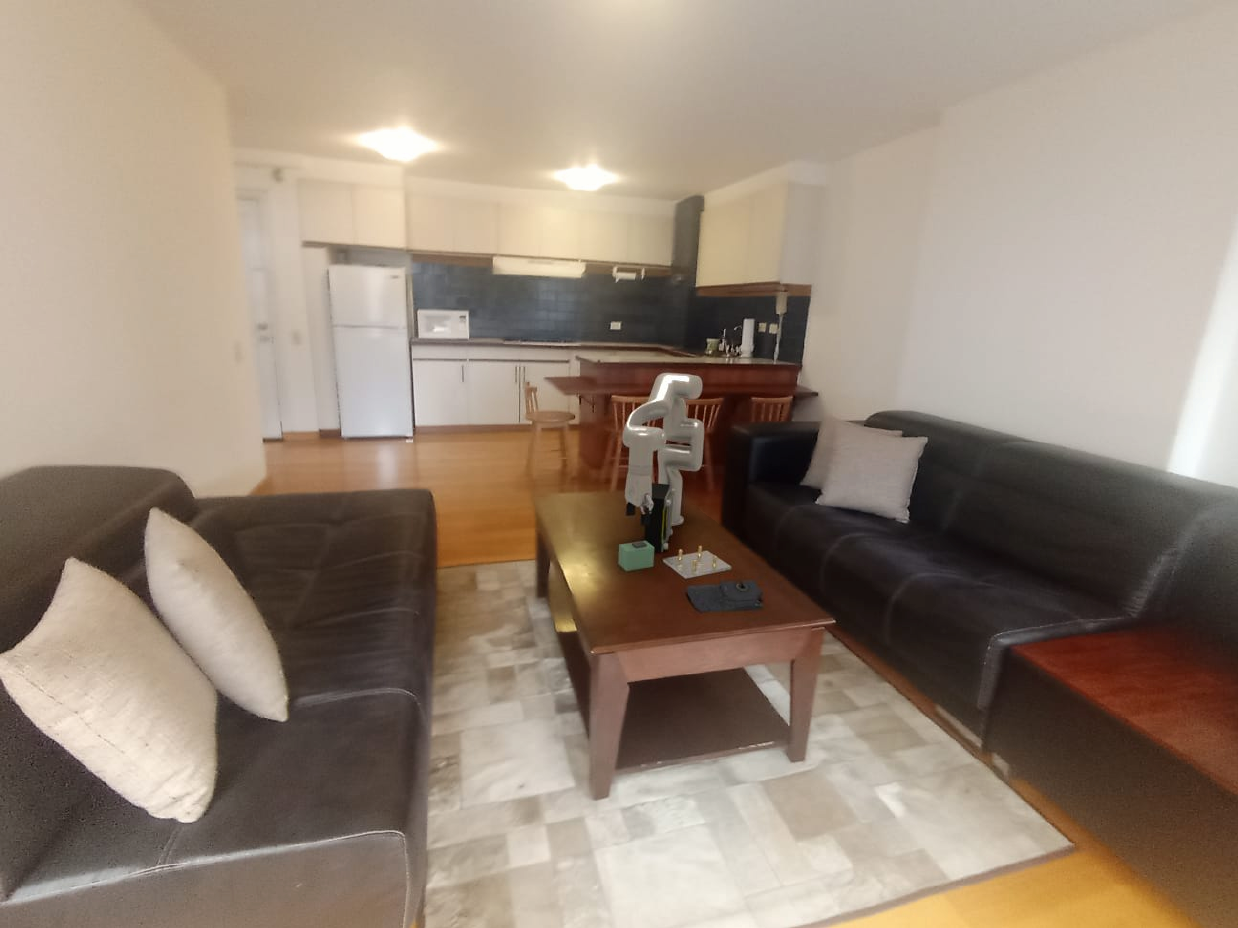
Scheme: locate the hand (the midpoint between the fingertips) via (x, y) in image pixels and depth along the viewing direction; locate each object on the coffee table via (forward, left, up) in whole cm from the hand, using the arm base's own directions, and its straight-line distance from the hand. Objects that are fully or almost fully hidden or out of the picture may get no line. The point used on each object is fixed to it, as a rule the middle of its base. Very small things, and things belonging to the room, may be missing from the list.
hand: (637, 520), depth 188 cm
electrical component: (-14, +16, -16) cm, 27 cm away
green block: (0, 0, -16) cm, 16 cm away
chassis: (+8, +19, -16) cm, 26 cm away
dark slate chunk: (+30, +14, -17) cm, 37 cm away
